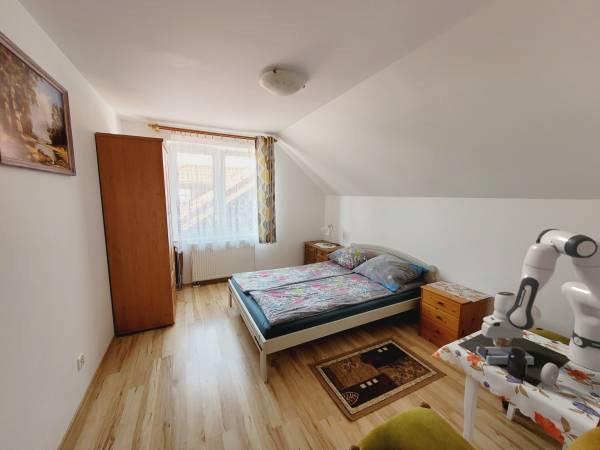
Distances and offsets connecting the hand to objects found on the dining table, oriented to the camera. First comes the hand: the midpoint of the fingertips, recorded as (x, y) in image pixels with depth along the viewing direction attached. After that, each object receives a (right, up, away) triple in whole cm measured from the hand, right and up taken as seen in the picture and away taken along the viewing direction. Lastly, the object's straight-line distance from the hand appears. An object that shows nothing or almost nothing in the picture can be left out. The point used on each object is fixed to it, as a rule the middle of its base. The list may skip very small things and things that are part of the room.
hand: (501, 344), depth 131 cm
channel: (-6, -3, -9) cm, 11 cm away
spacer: (0, -2, 0) cm, 2 cm away
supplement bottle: (-10, -4, -20) cm, 22 cm away
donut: (-1, -5, -26) cm, 27 cm away
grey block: (-12, -2, -9) cm, 15 cm away
